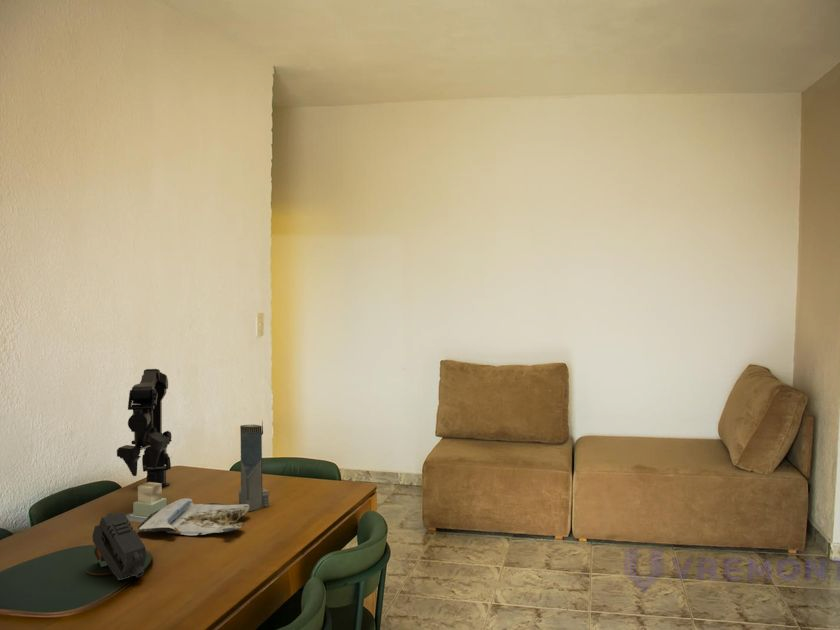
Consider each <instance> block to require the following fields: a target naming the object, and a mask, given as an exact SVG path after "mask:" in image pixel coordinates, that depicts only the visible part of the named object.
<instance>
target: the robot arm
mask: <svg viewBox="0 0 840 630" xmlns="http://www.w3.org/2000/svg"><path fill="white" fill-rule="evenodd" d="M168 389H169V379H168V376H167V374H165V373H163V372H161V370H160V369H158V368H146V369H144V370H143V373H142V375H141V379H140V382H139V383H136V384H134V385H133V386H132V387H131V389H130V390H129V393H128V394H129V396H128V401H127V402H128V403H127V410H128V411H130V410H131V411H132V414H131V415H130V417H129V418H128V421H127V425H128V426H127V427H128V428H129V430H131V432H132V433H133V434H134V435H133V437H134V439H132V440H131V445H129V444H126V445H123V446H120V447H118V448H117V449H116V457H117V458H119V459H122V460H123V462H124V463H125V465H126V467H127V468H128V469H129V471H130V474H131V475H132V476H133V477H137V474H138V461H139V459H140V458H141V461H142V462H141V464H142V465H141V466H142V472H143V473H144V472H145V473H146V483H147V482H153V483H162V489H163V488H165V487H168V486H170V485H171V484H170V483H169V482H167V471H168V470H171V469H172V463H171V458H170V456H169V453H167V448H168V445H170V444H171V442H172V438H173V437H172V433H171V431H169V430H166V431H164V432H162V431H163V428H162V427H163V426H162V424H163V423H162V422H163V418H162V417H163V415H162V414H163V411H162V410H163V409H162V408H163V403H162V401H163V400H164V398H165V396H166V394H167V390H168ZM142 450H144V452H143V454H142V457H141V455H140V454H141V451H142Z"/></svg>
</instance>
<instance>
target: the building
mask: <svg viewBox="0 0 840 630" xmlns="http://www.w3.org/2000/svg"><path fill="white" fill-rule="evenodd" d="M263 423H264V422H263V421H261V425H260V424H243V425H242V424H241V425H240V489H238V504H248V505H249V506H250V508H249V509H248V510H247V512H246V513H250V512H254V511H253V510H255V511H258V510H257V509H259V510H262V509H263V508H262V507H264V508H267V507H266V506H269V507H270V491H269V490H268V489H266V488H263V453H262V452H263V447H262V446H263V443H262V441H263V437H262V436H263V434H264V427H263ZM261 508H262V509H261ZM249 511H250V512H249Z"/></svg>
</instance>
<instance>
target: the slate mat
mask: <svg viewBox="0 0 840 630" xmlns="http://www.w3.org/2000/svg"><path fill="white" fill-rule="evenodd" d="M125 515H126V517H127V518H128V520H129V521H128V522H134V523H135V522H136V523H140V524H141V523H142V522H143V521H144V520H145V519H147V518H148V517H143V516H136V515H134V514H133V511H131V512H129V513H126V514H125Z"/></svg>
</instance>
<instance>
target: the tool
mask: <svg viewBox="0 0 840 630" xmlns="http://www.w3.org/2000/svg"><path fill="white" fill-rule="evenodd" d="M126 515H127V514H125V512H124V511H123V512H122V511H121V512H118V513H115V514H114V513H113V512H109V513H107V514H106V516H102V517H100V521H99V524H98V525H95V526H94V529H93V532H92V535H91V536H92V542H93V544H94V545H95V548H94V550H93V554H94V556H95V558H96V559H98V560H99V559H100V560H101V562H102V561H106V563H107V565H108V566H107V567H108V568H109V569H110V571H111V573H112V574H113V576H114V575H115V576H117V577H118V578H120V579H122V578H125V577H128V576H131V575H133V574H135V575H136V576H135V577H136V578H140V577H142V576H143V575H144V573H145V571H144V569H143V567H144V566H145V564H146V560H147V558H148V557H147V550H146V549H147V548H146V545H145V544H144V543H143V541H142V540H141V538H140V536H139V535H138V532H137V531H136V530H135V529H134V527H133V525H132V523H131V521H129V520H128V518H127V517H126ZM98 560H97V561H98ZM115 576H114V577H115Z"/></svg>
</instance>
